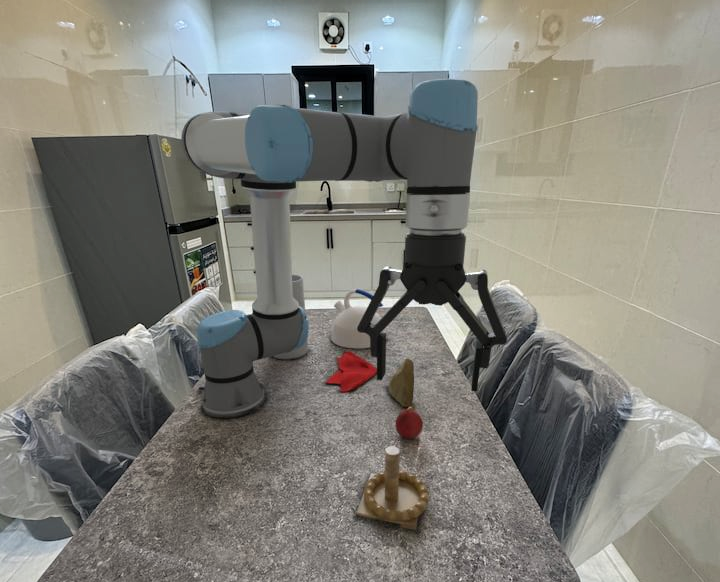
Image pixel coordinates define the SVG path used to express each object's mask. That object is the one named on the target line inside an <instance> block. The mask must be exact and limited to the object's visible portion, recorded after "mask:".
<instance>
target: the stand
mask: <svg viewBox="0 0 720 582" xmlns="http://www.w3.org/2000/svg"><path fill="white" fill-rule="evenodd" d="M384 454H385V455H384V471H385V481H383V482H381V483H379V484H378V485H377V486H376V487H375V488H374V491H373V497H374V499H375V501H376V502H377V503H378V504H379V505H380V506H382V507H384V508H385V509H389V510H393V511H402V510H407V509H409V508H412V507H414V506H415V505H416V504H417V503H418V501H419V497H420V495H419V492H418V490H417V489H416V488H415V487H414V485H412V484H410V483H408V482H407V481H403V480H399V471H400V458H401V450H400V448H399V447H398V446H395V445H390V446H387V447H386V448H385V450H384ZM376 474H377V473H373V472H370V475H369V476H368V480H367V482H368V481H369V480H370V479H371V478H372V477H373V476H375V475H376ZM355 512H356V513H355V515H356V516H360V517H366V518H370V519H374V520H379V521H385V522H389V523H394V524H398V525H400V528H402V529H408V530H411V531H416V530H417V525H418V519H419V516H418V517H415V518H413V519H411V520H409V521H398V522H394V521H390V520H386V519H382V518H380V517H379V516H377V515H376V514H374V513H373V512H371V510H370V509H369V508H368V506H367V505H366V503H365V500H364V492H363V493H362V495H361V498H360V502H359V505H358V507H357V509H356V511H355Z"/></svg>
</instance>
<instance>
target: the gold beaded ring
mask: <svg viewBox="0 0 720 582" xmlns="http://www.w3.org/2000/svg"><path fill="white" fill-rule="evenodd" d="M375 474H376V475H375V476H373V477H372V478H371V479H370V480H369V481H368V480H367V482H366V484H365V487H364V488H363V493H364V500H365V503H366V505H367V506H368V508H369V509H370V510H371V512H373V513H374V514H376V515H377V516H379V517H380V518H382V519H386V520H390V521H394V522H398V521H409V520H411V519H413V518H415V517H418V518H419V516H421V514H423V512H424V511H425V510H426V509H427V508H428V506H429V502H430V501H429V500H430V494H429V491H428V487H427V485H426V484H425V483H424V482H423V480H422V479H420V477H418V476H416V475H414V474H413V473H411V472H408V471H404V470H399V480H403V481H407V482H408V483H410V484H412V485H414V487H415V488H416V489H417V490H418V492H419V495H420V497H419V501H418V503H417V504H416V505H415V506H414V507H412V508H409V509H407V510H402V511H393V510H389V509H385V508H384V507H382V506H380V505H379V504H378V503H377V502H376V501H375V499H374V497H373V491H374V488H375V487H376V486H377V485H378V484H379V483H381V482H383V481H385V470H384V471H381V472H378V473H375Z"/></svg>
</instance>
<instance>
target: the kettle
mask: <svg viewBox="0 0 720 582" xmlns="http://www.w3.org/2000/svg"><path fill="white" fill-rule="evenodd" d="M354 294H358V295H361V296H364V297H366V298H368V299H369V300H370V301H371V300H372V298H373V296H374V294H371V293H369V292H367V291H365V290H362V289H358V288H357V289H351V290H350V291H348V292H347V293H346V295H345V296H344V299H343V302H342V300H338V301H337V302H335V303H334V305H333V308H334V309H336V311H337V313H338V315H337V316H336V318H335V319H334V320H333V323H332V326H331V336H330V340H331V341H332V343H334V344H335V345H337V346H338V347H341V348H346V349H353V350H361V349H370V336H369V335H368V334H366V333H364V332H363V333H360V332H358V330H357V327H358V325H359V323H360V321H361V319H362V317H363V315H364V313H365V311H366V309H367V307H368V306H363V305H354V306H353V305H352V306H351V304H350V299H351V296H352V295H354ZM382 307H384V304H383V303H382V302H381V304H380V306H379V307H378V308H382ZM381 318H382V317H381V315H380V314H379V313H378V312H376V313H375V315H374V317H373V319H372V321H371V323H372V324H374V325H375V324H376V323H377V322H378V321H379V320H380V319H381ZM386 329H387V327H386V328H385V329H384V330H383V331H382V332H381V333H386V334H387V330H386ZM381 333H380V334H381ZM386 339H388V337H387V336H386Z"/></svg>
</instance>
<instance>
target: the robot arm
mask: <svg viewBox="0 0 720 582" xmlns="http://www.w3.org/2000/svg"><path fill="white" fill-rule="evenodd" d="M409 94H410V95H409V100H408V101H409V102H408V106H407V111H405V112H402V113H397V114H393V115H392V114H391V115H384V116H383V115H380V116H379V115H372V114H363V113H362V114H361V113H352V112H351V113H349V112H339V111H335V112H334V111H327V110H318V109H310V108H300V107H294V106H293V107H292V105H287V104H273V105H269V104H267V105H266V104H265V105H264V104H263V105H262V104H260V105H257V106H254V107H253V108H252V110H250V113H246V112H245V113H243V112H232V111H231V112H230V111H221V110H219V111H218V110H216V111H208V112H202V113H198V114H196V115H193V116H192V117H191V118H189V119H188V120H187V122H185V124H184V126H183V129H182V131H181V137H180V138H181V147H182V151H183V153H184V156H185V158H186V159H187V160H188V162H189V163H190V164H191V165H192V166H193V168H194V169H196V170H197V171H200V172H201V173H203V174H205V175H208V176H211V177H215V178H219V179H227V180H228V179H229V180H240V184H241V185H240V187H241V188H242V189H243V190H244V192H246V194H247V195H248V197H249V206H250V207H249V208H250V220H251V231H252V245H253V259H254V269H255V270H254V271H255V282H256V295H257V298H256V299H255V300H254V301H253V302H252V304H251V309H252V310H251V311H252V313H250V314H247V313H245V311H242V310H239V309H232V310H223V311H219V312H215V313H213V314H211V315H208V316H206V317H205V318H203V319H202V320H201V321H200V322H199V323H198V324H197V326H196V340H197V346H198V348H199V352H200V359H201V363H202V368H203V374H204V377H205V382H204V386H199V387H198V390H199V391H203V395H202V400H201V404H202V408H203V411H204V412H205V414H206V415H208V416H210V417H214V418H218V419H233V418H237V417H242V416H245V415H248V414H250V413H252V412H253V411H254V410H256V409H257V408H260V407H261V406H262V405H263V404H264V402H265V384H264V383H262V382H260V381H259V379H258V377H257V375H256V373H255V370H254V362H255V361H259V360H263V359H267V358H269V357H273V356H274V355H278V354H281V353H288V352H291V351H292V350H295V349H298V348H300V347H301V346H303V345H304V344H305V342H306V340H307V341H308V336H309V330H310V327H309V326H310V325H309V320H308V319H307V317H308V315H307V313H306V310H305V311H304V310H303V308H302V307H300V306H299V303H298V301H296V300H295V299H294V298H293V291H292V274H293V265H292V264H293V263H292V235H291V231H292V230H291V229H292V228H291V204H290V203H291V200H290V198H291V195H292V194H293V193H295V191H296V190H297V182H298V183H299V182H324V181H325V182H327V181H329V182H331V181H333V182H334V181H335V182H355V181H356V182H359V181H361V182H369V183H370V182H376V183H378V182H379V183H380V182H383V181H400V180H406V202H405V203H406V204H405V205H406V206H405V227H406V228H407V229H409V232H407V233H406V234H405V237H404V264H403V268H402V270H401V269H396V268H395V269H394V268H393V267H391V266H390V265H387V266H385V267H384V268H383V269H381V270H380V272H379V278H378V286H377V287H376V290H375V291H374V294H373V298H372V300H371V299H370V302H369V303H368V306H366V307H367V309H366V311H365V313H364V315H363V317H362V319H361V321H360V323H359V325H358V327H357V330H358V332H360V333H363V332H364V333H366V334H368V335H369V336H370V348H369V353H370V356H371V358H376V369H377V372H376V380H377V381H383V379H384V377H385V374H386V371H387V369H386V368H387V366H386V365H387V338H386V337H387V332H386V333H381V332H382V331H383V330H384V329H385V328H386V329H387V327H388V326H389V325H390V324H391V323H392V321H394V320H395V318H397V317H398V316H399V315H400V313H401V312H402V311H403V310H405V308H407V306H408V305H410V303H412V301H414V302H416V303H418V305H430V304H431V305H435V306H443V305H446V304H449V305H450V307H451V308H452V310H454V311H455V312H456V313H457V315H459V317H460V318H461V320H462V321H463V322H464V323H465V325H466V327H467V328H468V329H469V330H470V332H472V334H473V335H474V336H475V337H476V339H477V340H476V341H475V349H474V356H473V357H474V359H473V367H472V374H471V389H470V390H471V392H478V386H479V380H480V379H479V378H480V370H481V369H488V368H489V366H490V359H491V352H492V348H493V347H494V346H496V345H501V346H503V345H505V344H507V343H508V338H507V333H506V330H505V326H504V325H503V321H502V320H501V317H500V315H499V312H498V310H497V307H496V305H495V301H494V300H493V298H492V295H491V293H490V290H489V277H488V271H487V270H486V269H479V270H478V272H465V269H464V266H465V265H464V263H465V252H466V241H467V236H466V233H464V232H463V231H462V230H465V229H466V228H467V227H468V222H469V221H468V220H469V211H470V201H471V180H472V179H471V177H472V170H473V162H474V154H475V148H476V147H475V146H476V140H477V139H476V138H477V132H478V129H479V128H478V127H479V126H478V104H479V103H478V101H479V100H478V99H479V93H478V88H477V87H476V86H475V84H473V83H472V82H471V81H469V80H465V79H459V78H439V79H436V78H435V79H430V80H425V81H422V82H419V83H418V84H416V85H415V86H414V87H413V88H412V89H411V91H410V93H409ZM397 280H400V282H401V283H402V285H403V287H404V288H405V289H406V291H405V292H404V293H403V294H402V295H401V297H400V298H398V300H397V301H396V302H395V303H394V304H393V305H392V306H391V307H390V308H389V310H388V311H387V312H386V313H384V314H383V316H382V317H381V319H380V320H379V321H378V322H377V323H376V324H375V325H374V324H372V323H371V321H372V319H373V317H374V315H375V313H377V311H378V309H379V308H380V307H379V306H380V304H381V303H382V302H383V300H384V298H385V297H386V294H387V292H388V290H389V289H390V286H394V285H395V283H396V282H397ZM466 283H468V284H470V286H471V289H472V290H474V291H477V294H478V297H479V300H480V303H481V305H482V308H483V310H484V313H485V315H486V317H487V319H488V322H489V324H490V327H491V330H492V332H491V333H490V332H489V331H488V329H487V328H486V327H485V325H484V324H483V323H482V321H481V320H480V319H479V318H478V316H477V315H476V314H475V313H474V311H473V310H472V308H471V307H470V306H469V305H468V304H467V302H466V301H465V299H464V297H463V296H462V295H461V293H460V290H461V288H462V287H464V285H465V284H466ZM380 333H381V334H380Z"/></svg>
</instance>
